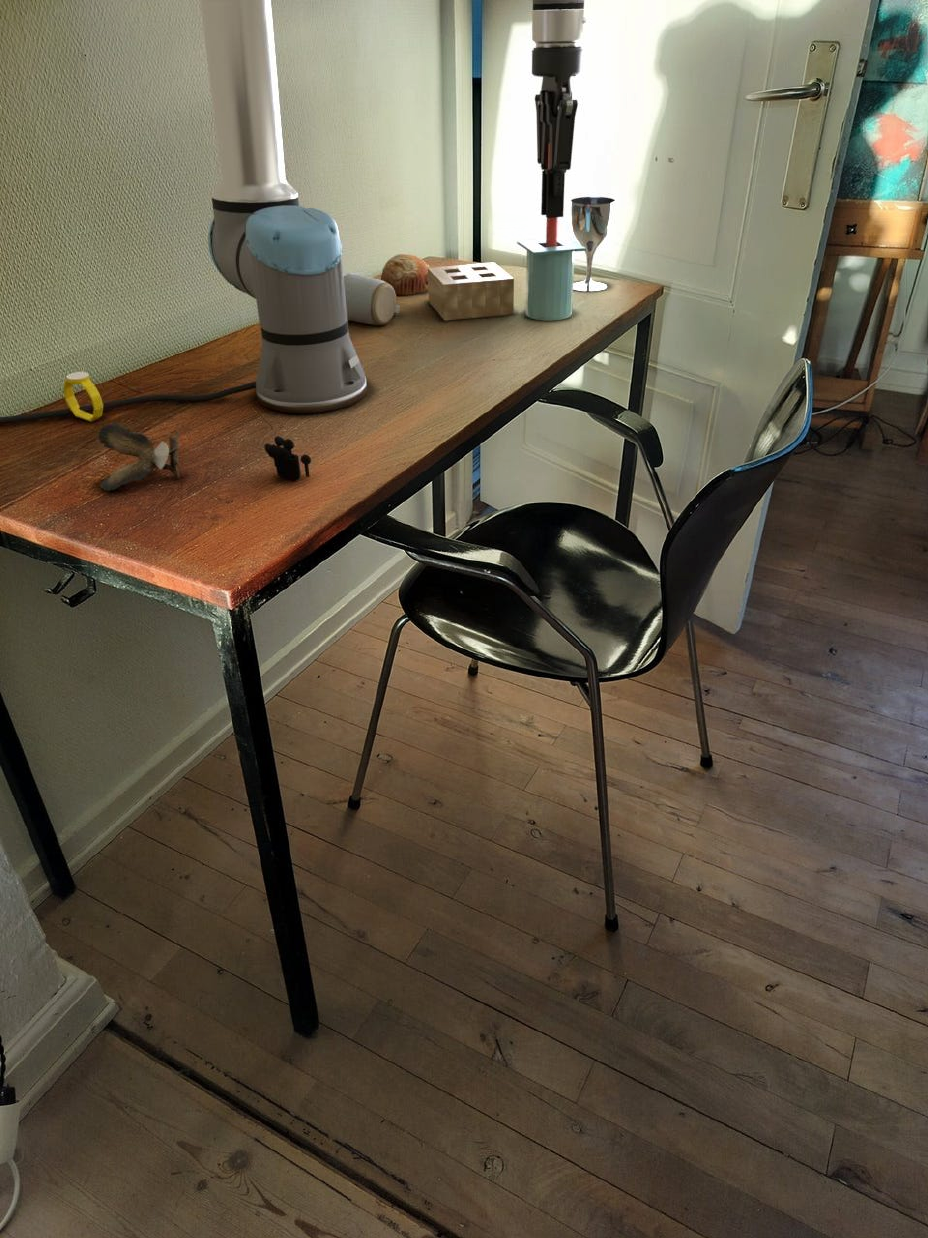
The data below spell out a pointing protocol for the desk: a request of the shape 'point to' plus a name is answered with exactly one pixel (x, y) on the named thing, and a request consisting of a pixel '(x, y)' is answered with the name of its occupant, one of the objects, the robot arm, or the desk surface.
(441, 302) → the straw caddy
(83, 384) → the watch
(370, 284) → the ceramic mug
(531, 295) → the light blue pen holder
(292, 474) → the wireless earbuds
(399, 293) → the muffin
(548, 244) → the straw
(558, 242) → the lid
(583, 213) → the wine glass
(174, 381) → the desk surface
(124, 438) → the eagle figurine
